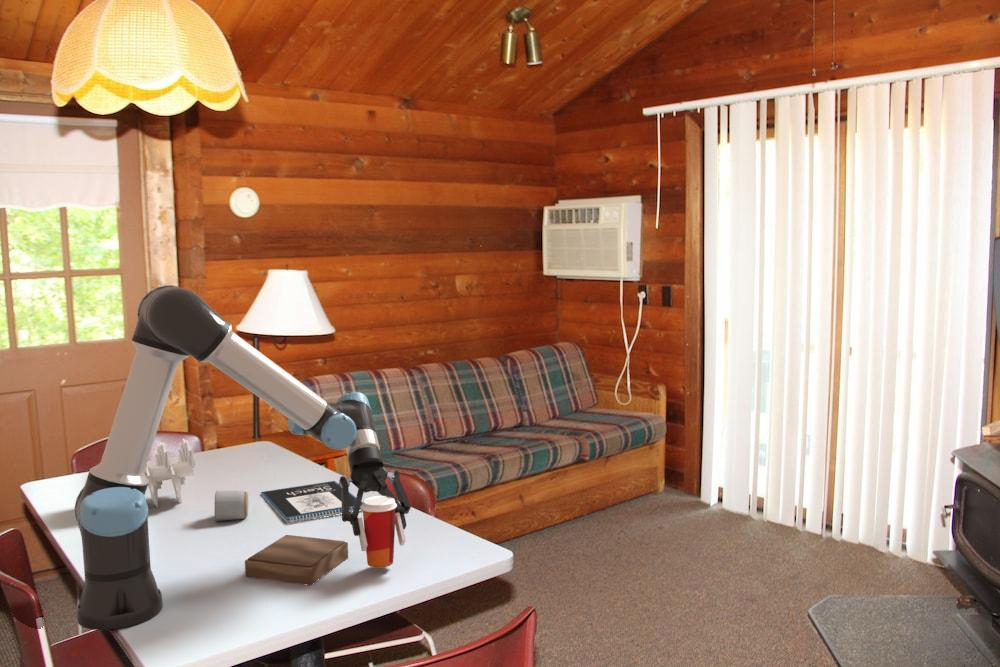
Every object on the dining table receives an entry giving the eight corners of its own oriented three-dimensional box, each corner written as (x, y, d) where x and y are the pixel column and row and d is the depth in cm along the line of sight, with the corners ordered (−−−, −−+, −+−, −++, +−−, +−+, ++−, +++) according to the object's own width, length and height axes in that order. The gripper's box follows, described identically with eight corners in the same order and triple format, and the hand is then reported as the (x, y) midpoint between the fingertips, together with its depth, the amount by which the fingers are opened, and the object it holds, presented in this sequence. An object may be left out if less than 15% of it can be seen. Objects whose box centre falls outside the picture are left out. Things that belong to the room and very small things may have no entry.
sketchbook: (334, 485, 251) (334, 478, 250) (369, 513, 224) (369, 505, 224) (261, 496, 240) (260, 488, 240) (288, 526, 214) (287, 518, 214)
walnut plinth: (311, 585, 176) (310, 567, 176) (245, 576, 181) (244, 558, 181) (348, 557, 191) (347, 540, 191) (286, 550, 196) (285, 533, 196)
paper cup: (381, 553, 190) (380, 492, 188) (405, 561, 185) (404, 499, 183) (354, 564, 184) (352, 501, 182) (378, 572, 179) (377, 508, 177)
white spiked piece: (97, 524, 229) (194, 504, 240) (97, 513, 214) (200, 493, 225) (89, 458, 234) (184, 442, 245) (87, 443, 219) (189, 427, 230)
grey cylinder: (248, 521, 217) (246, 492, 216) (214, 525, 215) (213, 495, 214) (249, 510, 227) (248, 481, 226) (217, 512, 225) (216, 484, 224)
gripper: (404, 458, 200) (426, 546, 187) (317, 467, 192) (333, 560, 179) (410, 441, 195) (433, 530, 182) (321, 449, 187) (338, 544, 174)
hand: (383, 545), depth 181 cm, fingers closed on paper cup, 8 cm apart
